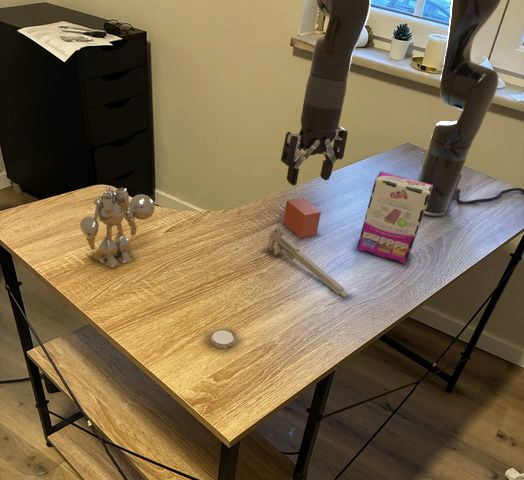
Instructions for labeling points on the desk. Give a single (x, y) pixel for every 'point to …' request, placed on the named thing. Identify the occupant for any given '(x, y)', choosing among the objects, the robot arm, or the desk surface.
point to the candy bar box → (393, 216)
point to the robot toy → (115, 223)
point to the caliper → (301, 259)
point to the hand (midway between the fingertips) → (308, 181)
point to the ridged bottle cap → (222, 338)
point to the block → (301, 217)
